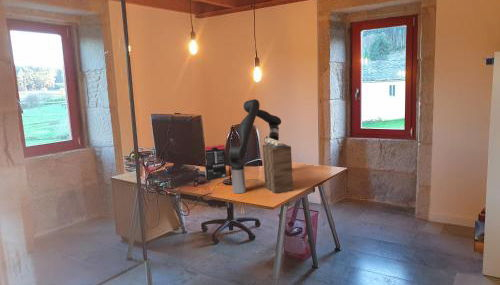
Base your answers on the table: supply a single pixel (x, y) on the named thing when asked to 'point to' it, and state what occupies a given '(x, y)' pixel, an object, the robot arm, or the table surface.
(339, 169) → the table surface
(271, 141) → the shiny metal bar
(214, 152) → the graphics card box
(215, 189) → the table surface
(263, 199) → the table surface
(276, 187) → the walnut cabinet
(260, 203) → the table surface
